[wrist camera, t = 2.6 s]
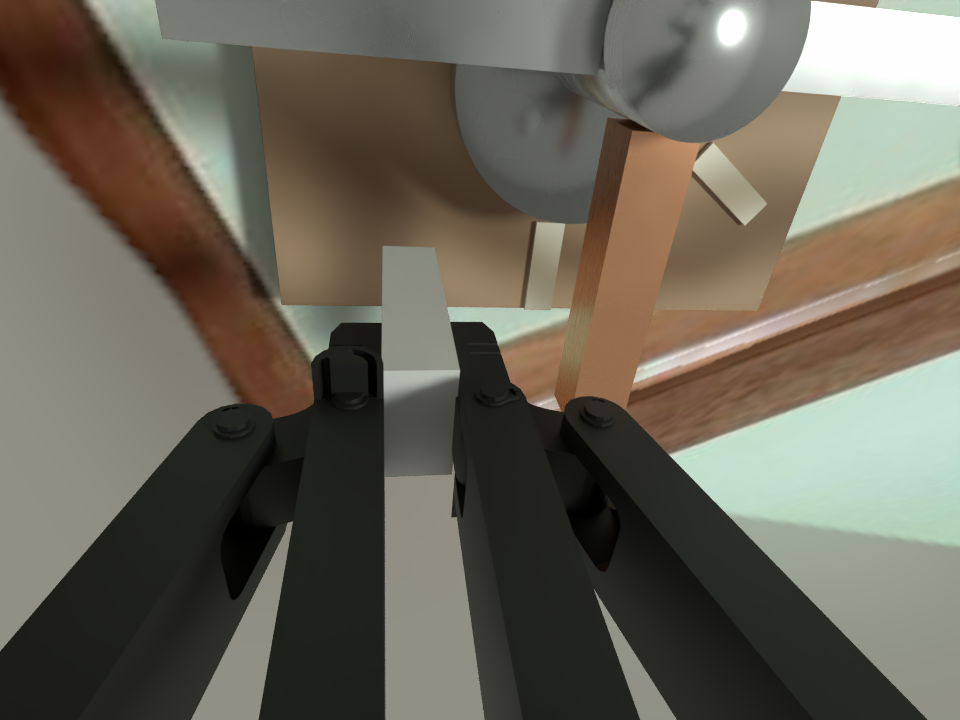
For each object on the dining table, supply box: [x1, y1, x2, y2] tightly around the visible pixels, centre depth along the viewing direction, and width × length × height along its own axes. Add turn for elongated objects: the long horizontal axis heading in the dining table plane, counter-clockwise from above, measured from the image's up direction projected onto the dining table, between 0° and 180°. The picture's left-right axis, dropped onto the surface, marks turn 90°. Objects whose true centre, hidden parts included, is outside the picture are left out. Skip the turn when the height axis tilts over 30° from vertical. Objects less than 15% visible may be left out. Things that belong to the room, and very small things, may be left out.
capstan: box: [155, 0, 960, 412], centre depth 15 cm, size 22×22×9 cm
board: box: [252, 0, 879, 311], centre depth 20 cm, size 22×22×2 cm
